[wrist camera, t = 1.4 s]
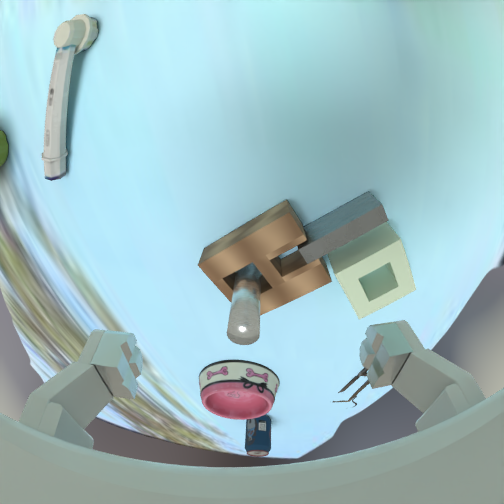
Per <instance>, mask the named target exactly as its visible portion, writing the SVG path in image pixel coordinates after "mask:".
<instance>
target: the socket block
mask: <svg viewBox="0 0 504 504" xmlns="http://www.w3.org/2000/svg"><path fill="white" fill-rule="evenodd" d="M306 240H307V238H306V235H305V231H304V228H303V225H302V223H301V221H300V220H299V218H298V217H297V215H296V213H295V212H294V210H293V209H292V207H291V206H290V204H289V202H288V201H287V200H285V201H283V202H281V203H280V204H278V205H276V206H275V207H273V208H271V209H269V210H268V211H266V212H264V213H263V214H261V215H259V216H257V217H256V218H254V219H252V220H251V221H249V222H247V223H246V224H244V225H242V226H240V227H239V228H237V229H235V230H234V231H232V232H230V233H229V234H227V235H225V236H224V237H222V238H220V239H219V240H217V241H215V242H214V243H212V244H211V245H209V246H207V247H206V248H204V250H203V253H202V255H201V258H200V261H199V263H198V266H199V267H200V268H201V269H202V271H203V272H204V273H205V274H206V275H207V276H208V277H209V279H210V280H211V281H212V282H213V283H214V284H215V285H216V286H217V288H218V289H219V290H220V291H221V292H222V293H223V294H224V295H225V296H226V297H227V299H228V300H229V301H230V302H232V295H233V289H234V282H235V276H236V272H235V271H237V270H239V269H241V268H243V267H245V266H247V265H249V264H250V263H252V262H253V263H254V264H255V266H256V267H257V268H258V270H259V271H260V272H261V273H262V275H261V296H260V315H262V314H265V313H267V312H269V311H271V310H273V309H276V308H278V307H280V306H282V305H284V304H286V303H288V302H291V301H293V300H295V299H297V298H299V297H301V296H303V295H305V294H307V293H309V292H312V291H314V290H316V289H318V288H320V287H322V286H324V285H326V284H328V283H330V282H332V281H331V277H330V274H329V271H328V268H327V265H326V263H325V261H324V260H323V258H322V257H320V258H318V259H316V260H314V261H313V262H311V263H309V264H307V262H306V261H305V259H304V258H303V256H302V255H301V253H300V252H299V250H298V251H296V252H294V253H292V254H290V255H288V256H286V257H284V258H282V259H281V260H280V258H279V257H278V255H280V254H282V253H284V252H286V251H288V250H290V249H292V248H293V247H295V246H297V245H299V244H301V243H303V242H305V241H306Z"/></svg>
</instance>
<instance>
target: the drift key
mask: <svg viewBox="0 0 504 504" xmlns="http://www.w3.org/2000/svg"><path fill="white" fill-rule="evenodd" d="M387 221H388V218H387V216H386V213H385V211H384V208H383V206H382V204H381V203H380V202H379V201H378V200H377V199H376V198H375V197H374V196H373V195H372V194H371V193H370V192H369V191H368V192H366V193H364V194H363V195H361V196H359V197H357V198H355V199H354V200H352V201H350V202H348V203H346V204H345V205H343V206H341V207H339V208H337V209H335V210H334V211H332V212H330V213H328V214H326V215H325V216H323V217H321V218H319V219H317V220H315V221H314V222H312V223H310V224H308V225H306V226H305V227H303V228H304V231H305V235H306V238H307V240H306V241H305V242H303V243H301V244H299V245H297V246H298V250H299V252H300V253H301V255H302V256H303V258H304V259H305V261H306V262H307V264H309V263H311V262H313V261H314V260H316V259H318V258H320V257H322V256H324V255H326V254H328V253H330V252H332V251H333V250H335V249H337V248H339V247H341V246H343V245H345V244H347V243H348V242H350V241H352V240H354V239H356V238H358V237H359V236H361V235H363V234H365V233H367V232H369V231H370V230H372V229H374V228H376V227H378V226H379V225H381V224H383V223H385V222H387Z"/></svg>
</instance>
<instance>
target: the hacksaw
mask: <svg viewBox="0 0 504 504" xmlns="http://www.w3.org/2000/svg"><path fill="white" fill-rule="evenodd" d="M367 371H368V369H367V368H364V369H363V370H362V371H360V372H359V373H358V376H356V377H355V378H354V379H353V380H351V381H350V382H349V383H348V384H347V385H346V386H345V387H344V388H343V389H342V390H341V391H339V392H343V391H345V390H346V389H347V388H348V387H349V386H350V385H351V384H353V383H354V382H355V381H356V380H357V379H358V378H359V376H367V373H366V372H367ZM369 383H370V382H369V380H367V381H366V382H365V383H364V384H363V385H362V386H361V387H360V388H359V389H358V390H357V391H356V392H355V393H354V394H353V395H352V397H351V398H350V399H349V400H348V401H337V402H349V401H351V400H352V399H355V398H356V397H357V396H356V395H357V394H358V393H359V392H360V391H361V390H362V389H364V388H365V387H366V385H368V384H369ZM333 402H336V401H333ZM352 402H353V400H352ZM353 403H355V402H353ZM355 404H356V403H355ZM356 405H357V404H356ZM356 405H355V406H356Z"/></svg>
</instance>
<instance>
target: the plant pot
mask: <svg viewBox="0 0 504 504" xmlns="http://www.w3.org/2000/svg"><path fill="white" fill-rule="evenodd" d="M7 156H8V143H7V141H6V135H5V134H4V132H3V131H1V130H0V166H1V165H3V164H4V163H5V161H6V159H7Z"/></svg>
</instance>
